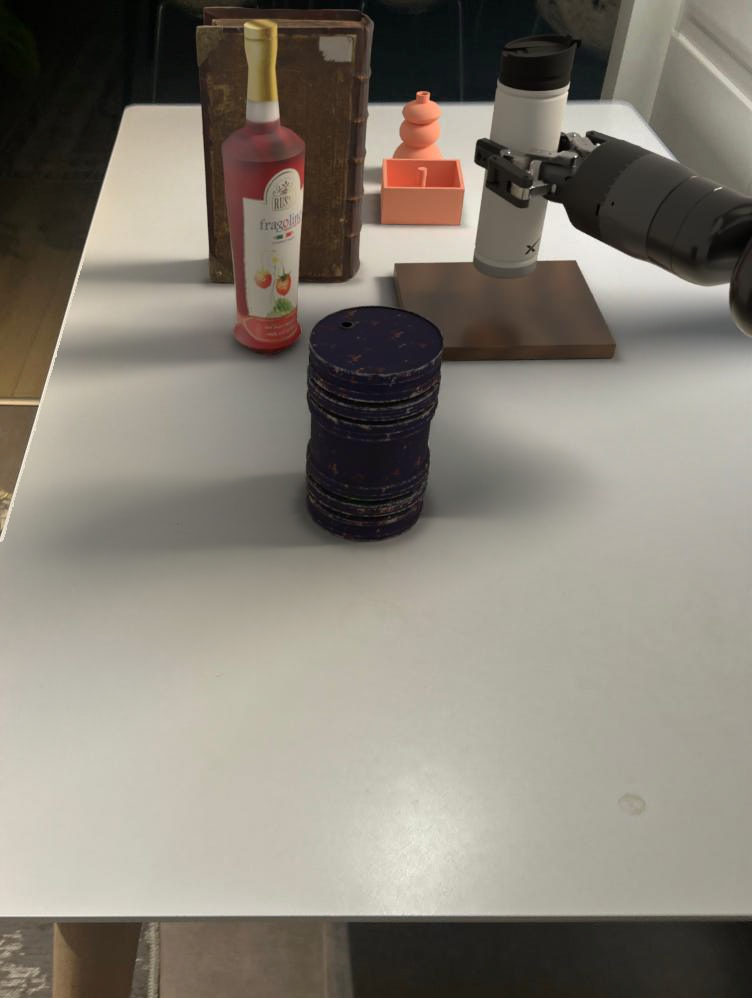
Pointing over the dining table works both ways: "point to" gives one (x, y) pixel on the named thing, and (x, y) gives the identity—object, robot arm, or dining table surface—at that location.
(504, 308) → the walnut board
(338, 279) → the book
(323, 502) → the dark blue cylinder
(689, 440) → the dining table surface
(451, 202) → the pottery
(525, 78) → the travel mug
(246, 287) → the liquor
